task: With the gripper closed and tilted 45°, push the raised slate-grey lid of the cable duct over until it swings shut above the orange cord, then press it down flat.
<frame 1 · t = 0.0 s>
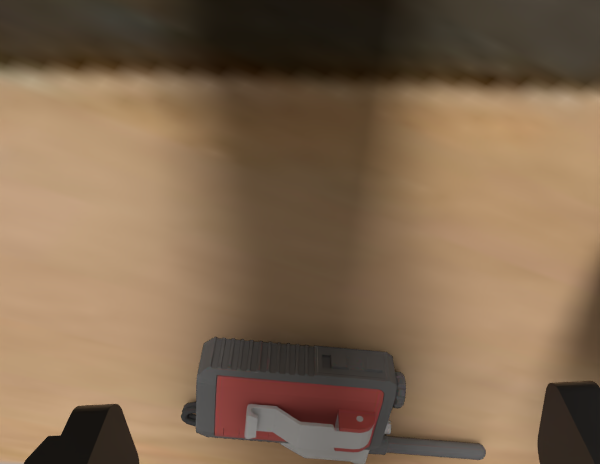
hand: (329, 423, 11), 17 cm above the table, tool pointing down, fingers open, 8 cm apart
walkie-talkie: (342, 388, 37), on the table
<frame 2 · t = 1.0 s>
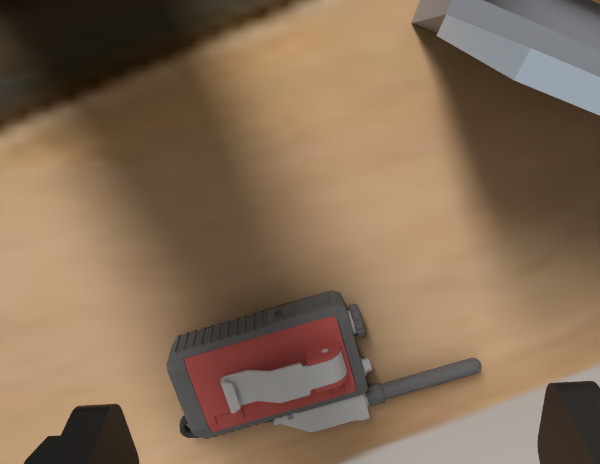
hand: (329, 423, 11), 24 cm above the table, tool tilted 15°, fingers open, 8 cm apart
walkie-talkie: (318, 351, 38), on the table
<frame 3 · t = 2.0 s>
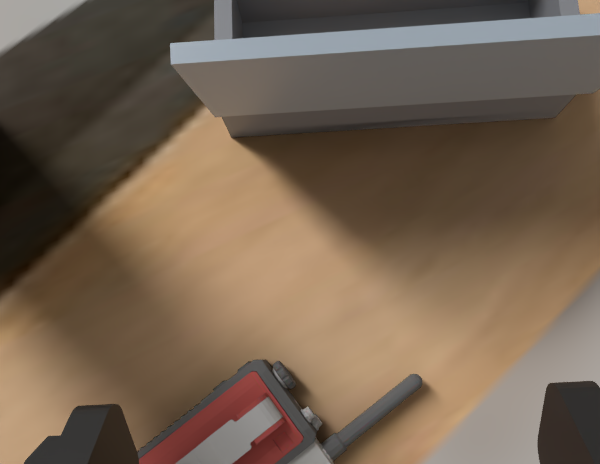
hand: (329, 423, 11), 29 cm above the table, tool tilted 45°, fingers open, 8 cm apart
cable duct: (386, 66, 44), on the table
duct lid: (411, 71, 32), point 11 cm above the table, hinge at 100.0°
walkie-talkie: (272, 427, 39), on the table
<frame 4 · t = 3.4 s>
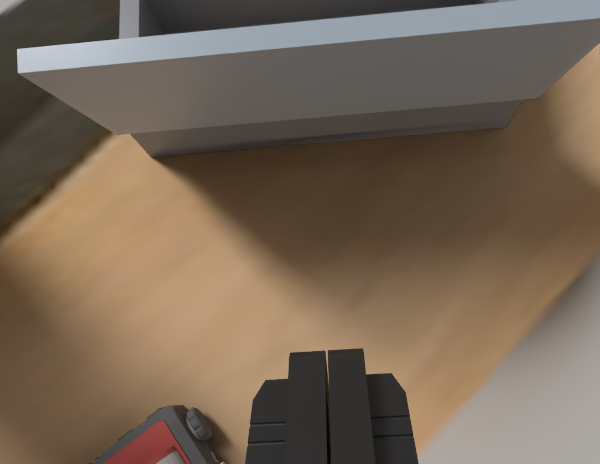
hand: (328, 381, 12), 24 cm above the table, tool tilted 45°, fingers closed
cable duct: (319, 76, 40), on the table
duct lid: (318, 77, 28), point 11 cm above the table, hinge at 100.0°
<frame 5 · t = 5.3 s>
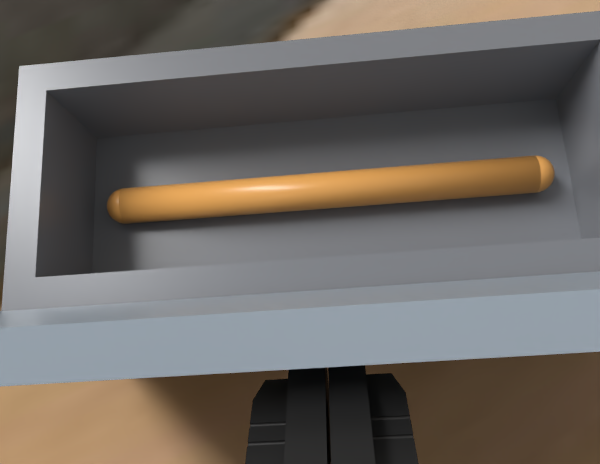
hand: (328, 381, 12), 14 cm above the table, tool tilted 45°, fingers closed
cable duct: (326, 203, 27), on the table
duct lid: (327, 314, 15), point 11 cm above the table, hinge at 100.0°, touching gripper
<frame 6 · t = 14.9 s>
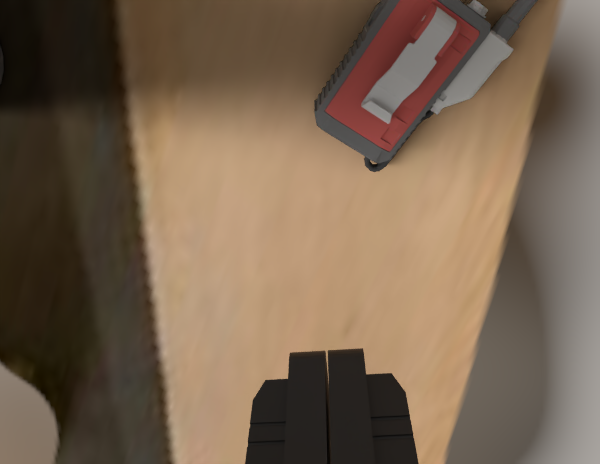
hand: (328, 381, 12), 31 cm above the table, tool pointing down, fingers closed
walkie-talkie: (433, 31, 39), on the table
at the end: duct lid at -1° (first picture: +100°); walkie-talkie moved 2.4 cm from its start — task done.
